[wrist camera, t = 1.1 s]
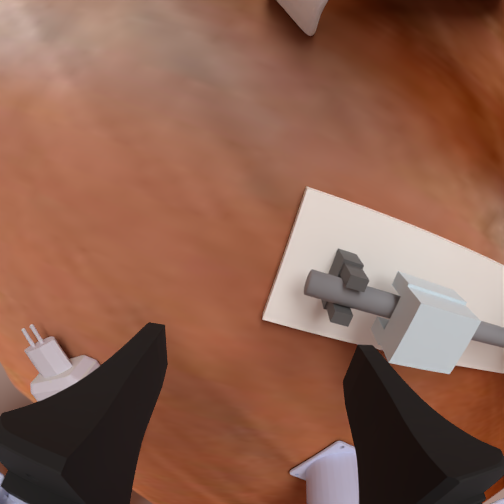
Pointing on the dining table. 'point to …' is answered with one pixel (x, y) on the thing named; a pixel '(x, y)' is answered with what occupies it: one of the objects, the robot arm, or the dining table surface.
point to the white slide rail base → (377, 276)
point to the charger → (54, 366)
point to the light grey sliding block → (425, 326)
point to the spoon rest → (304, 13)
